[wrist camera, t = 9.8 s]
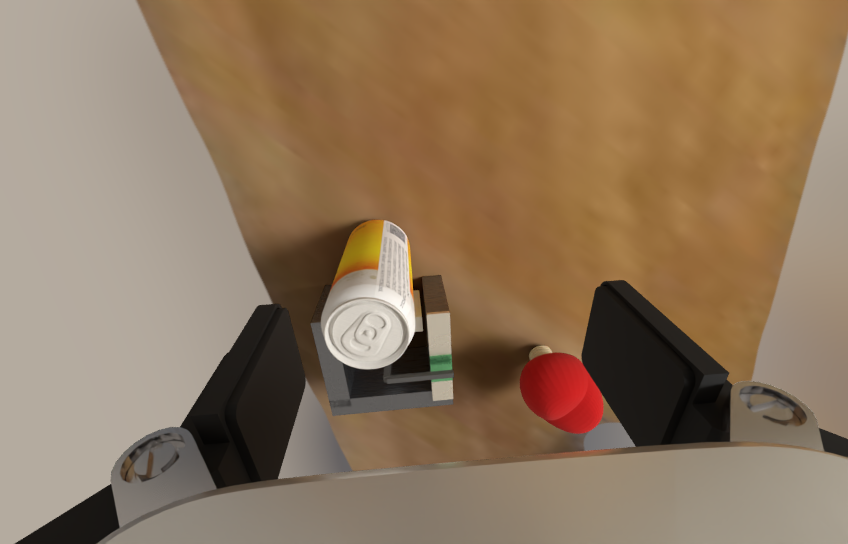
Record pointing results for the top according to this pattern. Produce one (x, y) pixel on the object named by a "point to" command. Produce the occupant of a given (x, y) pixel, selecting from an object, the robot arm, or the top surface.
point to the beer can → (371, 298)
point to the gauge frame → (392, 364)
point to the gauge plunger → (422, 375)
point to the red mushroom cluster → (561, 391)
